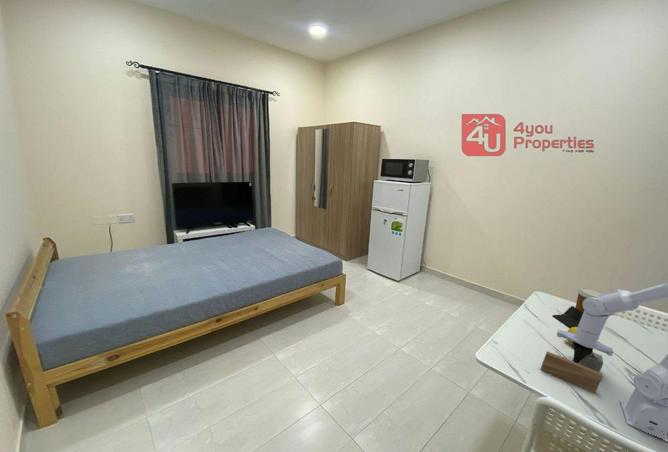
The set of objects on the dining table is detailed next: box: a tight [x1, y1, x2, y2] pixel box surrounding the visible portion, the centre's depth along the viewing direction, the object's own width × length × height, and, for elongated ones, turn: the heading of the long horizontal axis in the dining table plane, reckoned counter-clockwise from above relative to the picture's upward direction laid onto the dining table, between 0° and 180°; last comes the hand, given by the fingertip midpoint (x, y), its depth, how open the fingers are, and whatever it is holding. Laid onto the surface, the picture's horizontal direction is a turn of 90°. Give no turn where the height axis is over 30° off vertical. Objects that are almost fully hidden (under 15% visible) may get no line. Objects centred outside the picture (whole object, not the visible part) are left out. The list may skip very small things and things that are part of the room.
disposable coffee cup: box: [575, 286, 604, 313], centre depth 127 cm, size 10×10×12 cm
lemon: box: [566, 327, 577, 346], centre depth 107 cm, size 6×6×8 cm
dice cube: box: [578, 351, 604, 372], centre depth 96 cm, size 5×5×5 cm
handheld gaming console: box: [552, 305, 583, 329], centre depth 121 cm, size 12×7×10 cm
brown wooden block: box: [540, 351, 604, 394], centre depth 90 cm, size 2×14×7 cm, turn 54°
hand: (575, 361), depth 98 cm, fingers closed
